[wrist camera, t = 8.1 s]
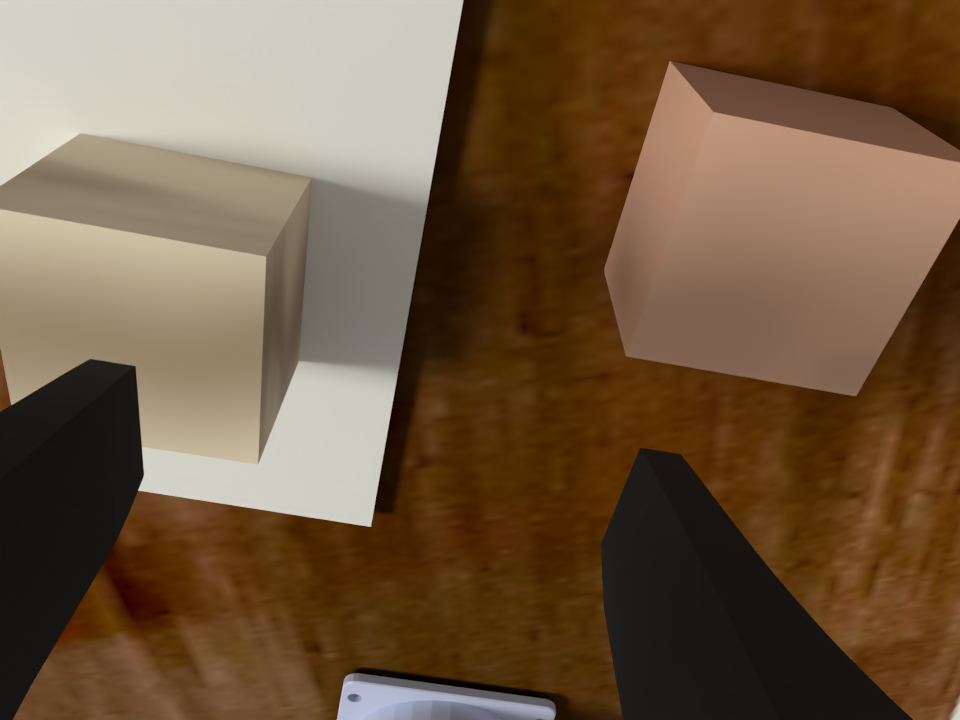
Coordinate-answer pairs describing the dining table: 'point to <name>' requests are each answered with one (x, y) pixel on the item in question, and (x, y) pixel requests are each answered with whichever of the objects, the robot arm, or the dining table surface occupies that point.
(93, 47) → the mat
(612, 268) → the terracotta brick
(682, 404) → the dining table surface
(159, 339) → the ash brick
